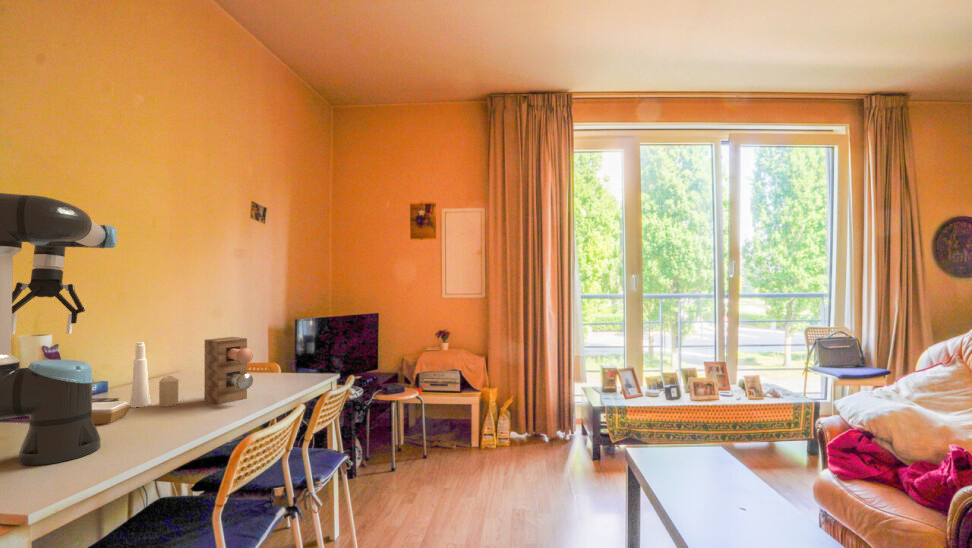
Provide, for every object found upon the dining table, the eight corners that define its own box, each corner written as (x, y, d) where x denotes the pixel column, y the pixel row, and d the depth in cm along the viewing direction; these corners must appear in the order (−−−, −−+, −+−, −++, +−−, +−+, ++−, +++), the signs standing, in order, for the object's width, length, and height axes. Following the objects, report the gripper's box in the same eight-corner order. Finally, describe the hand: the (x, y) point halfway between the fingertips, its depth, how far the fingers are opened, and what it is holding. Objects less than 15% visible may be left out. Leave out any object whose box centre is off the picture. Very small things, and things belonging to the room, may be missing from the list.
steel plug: (253, 387, 164) (253, 372, 164) (238, 390, 160) (238, 375, 160) (235, 383, 170) (235, 369, 170) (221, 386, 166) (221, 372, 166)
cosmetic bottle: (143, 402, 165) (143, 340, 165) (155, 404, 163) (155, 341, 163) (125, 407, 159) (125, 343, 159) (137, 408, 157) (137, 343, 157)
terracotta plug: (253, 362, 164) (253, 347, 164) (238, 364, 160) (238, 349, 160) (236, 359, 170) (236, 345, 170) (221, 361, 166) (221, 346, 166)
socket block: (246, 398, 170) (246, 338, 171) (218, 404, 162) (219, 341, 162) (232, 394, 176) (232, 336, 176) (204, 400, 167) (204, 339, 168)
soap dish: (65, 427, 138) (65, 410, 138) (87, 418, 148) (87, 402, 148) (112, 425, 140) (112, 408, 140) (131, 415, 150) (131, 400, 150)
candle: (181, 404, 163) (181, 375, 163) (163, 407, 158) (163, 378, 158) (173, 402, 166) (173, 374, 166) (156, 405, 161) (156, 376, 161)
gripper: (99, 272, 162) (93, 333, 159) (-1, 268, 149) (-9, 334, 147) (94, 269, 155) (88, 333, 153) (-10, 265, 143) (-19, 334, 140)
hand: (41, 334), depth 150 cm, fingers open, 13 cm apart
